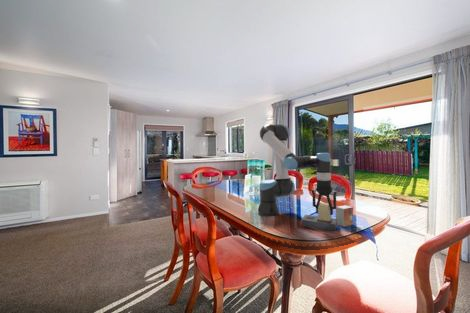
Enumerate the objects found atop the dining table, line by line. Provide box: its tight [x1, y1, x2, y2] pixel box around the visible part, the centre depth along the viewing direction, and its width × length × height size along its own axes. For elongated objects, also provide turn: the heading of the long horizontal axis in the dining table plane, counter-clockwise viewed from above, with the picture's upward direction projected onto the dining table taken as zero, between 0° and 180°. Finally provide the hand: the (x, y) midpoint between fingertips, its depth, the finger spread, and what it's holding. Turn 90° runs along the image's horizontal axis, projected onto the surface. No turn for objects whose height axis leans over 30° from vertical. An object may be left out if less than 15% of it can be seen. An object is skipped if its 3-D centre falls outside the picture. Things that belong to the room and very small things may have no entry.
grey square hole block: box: [300, 214, 338, 233], centre depth 120 cm, size 18×10×4 cm, turn 58°
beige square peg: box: [319, 201, 330, 223], centre depth 118 cm, size 5×5×10 cm
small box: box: [335, 204, 354, 228], centre depth 121 cm, size 8×6×10 cm
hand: (324, 219), depth 118 cm, fingers closed on beige square peg, 5 cm apart
